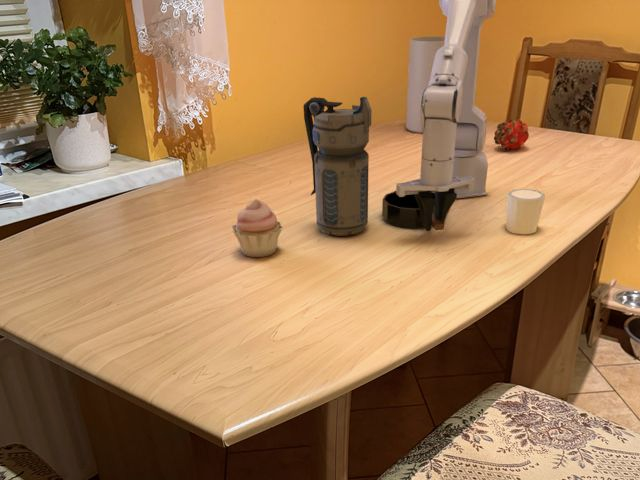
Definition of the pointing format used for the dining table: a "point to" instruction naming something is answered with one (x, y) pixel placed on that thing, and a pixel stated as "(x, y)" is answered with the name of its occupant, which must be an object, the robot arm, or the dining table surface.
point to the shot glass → (523, 210)
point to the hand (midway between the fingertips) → (432, 228)
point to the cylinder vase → (419, 76)
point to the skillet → (406, 212)
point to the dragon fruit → (511, 134)
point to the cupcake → (257, 230)
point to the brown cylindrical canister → (339, 164)
